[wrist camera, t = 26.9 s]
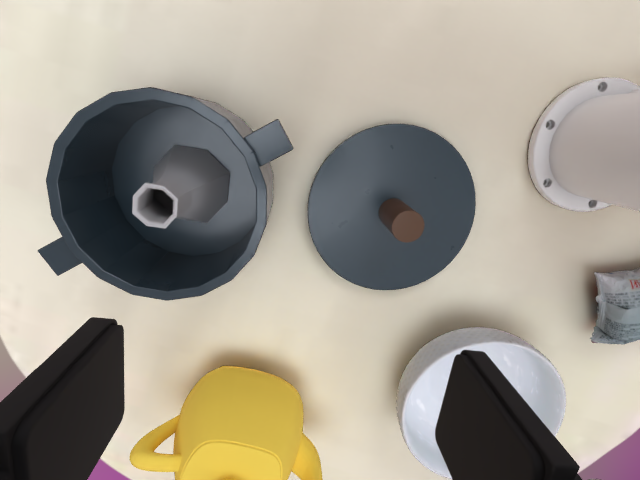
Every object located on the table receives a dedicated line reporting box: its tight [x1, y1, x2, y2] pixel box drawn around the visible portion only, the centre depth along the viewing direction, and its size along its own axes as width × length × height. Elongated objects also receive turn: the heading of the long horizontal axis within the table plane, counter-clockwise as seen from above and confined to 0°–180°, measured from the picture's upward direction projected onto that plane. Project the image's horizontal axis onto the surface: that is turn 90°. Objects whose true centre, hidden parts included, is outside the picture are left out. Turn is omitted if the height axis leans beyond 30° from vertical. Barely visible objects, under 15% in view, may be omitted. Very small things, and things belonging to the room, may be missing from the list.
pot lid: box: [308, 124, 476, 290], centre depth 36 cm, size 17×17×7 cm
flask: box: [132, 145, 230, 228], centre depth 32 cm, size 7×7×10 cm
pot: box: [38, 87, 293, 300], centre depth 33 cm, size 16×21×9 cm
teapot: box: [130, 366, 322, 480], centre depth 39 cm, size 13×20×12 cm
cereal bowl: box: [396, 327, 566, 479], centre depth 42 cm, size 17×17×7 cm
